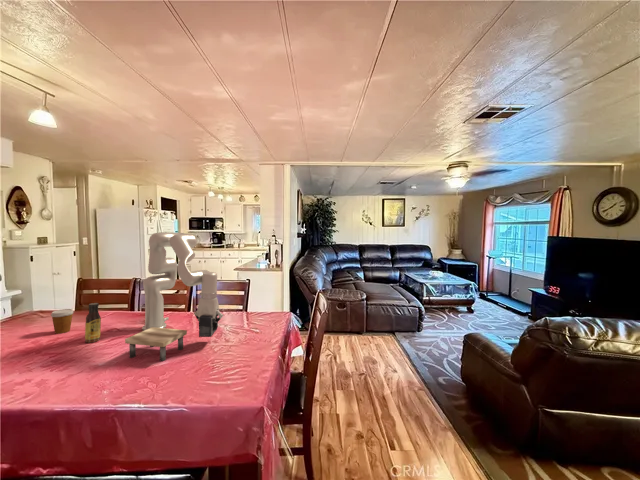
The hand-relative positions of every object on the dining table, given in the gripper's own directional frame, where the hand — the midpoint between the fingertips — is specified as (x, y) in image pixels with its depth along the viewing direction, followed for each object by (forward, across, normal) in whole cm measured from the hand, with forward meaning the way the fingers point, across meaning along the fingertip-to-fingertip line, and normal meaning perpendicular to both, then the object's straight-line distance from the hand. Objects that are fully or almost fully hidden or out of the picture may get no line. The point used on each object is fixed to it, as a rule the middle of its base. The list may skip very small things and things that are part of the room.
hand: (208, 328), depth 143 cm
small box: (+3, 0, 0) cm, 3 cm away
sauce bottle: (+10, -60, -10) cm, 62 cm away
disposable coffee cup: (+10, -89, -3) cm, 90 cm away
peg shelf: (+8, -17, -15) cm, 24 cm away
